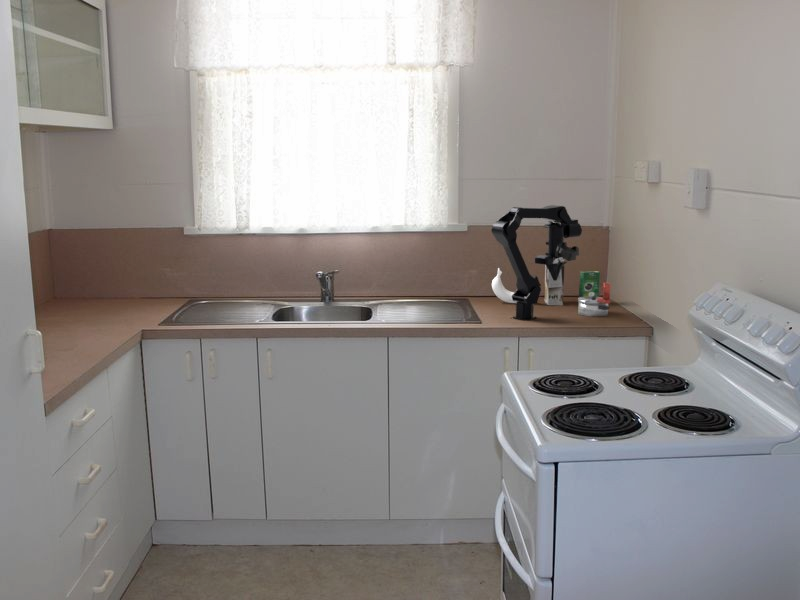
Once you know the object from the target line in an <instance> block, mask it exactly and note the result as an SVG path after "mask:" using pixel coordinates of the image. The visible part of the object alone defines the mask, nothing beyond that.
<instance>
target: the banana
mask: <svg viewBox="0 0 800 600" xmlns="http://www.w3.org/2000/svg"><path fill="white" fill-rule="evenodd" d="M502 274H503V272H502V270H501V269H500V267H498V268H497V273H496V276H495V277H494V278H493V279H492V280H491V281H492V282H491V288H492V291H493V293H494V294H495V295H496V297H497V298H498V299H500V300H501V301H503V302H505V303H508V304H516V302H517V301H513V299H512V295H513V293H514V292H515V291H510V290H508V289H506V287H505V286H504V285H503V282H502V280H501V279H502V278H501V275H502ZM525 298H526V297H525Z"/></svg>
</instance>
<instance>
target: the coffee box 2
mask: <svg viewBox="0 0 800 600" xmlns="http://www.w3.org/2000/svg"><path fill="white" fill-rule="evenodd" d="M579 272H580V274H579V285H578V298H579V297H587V296H596V297H600V296H599V295H600V292H599V291H600V283H601V281H600V280H601V279H600V278H601V272H600V271H596V270H594V271H579Z"/></svg>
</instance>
